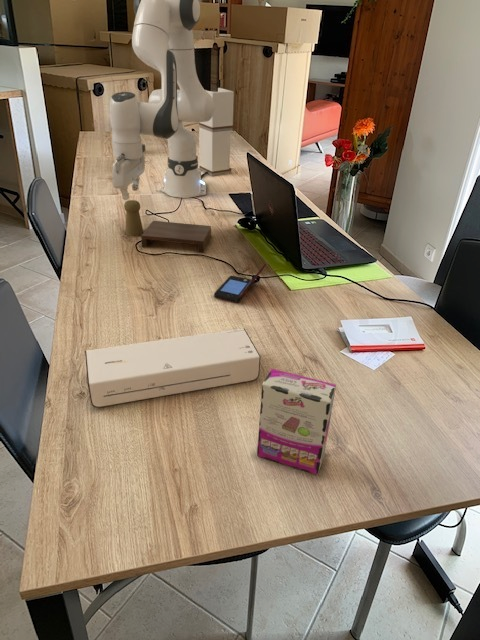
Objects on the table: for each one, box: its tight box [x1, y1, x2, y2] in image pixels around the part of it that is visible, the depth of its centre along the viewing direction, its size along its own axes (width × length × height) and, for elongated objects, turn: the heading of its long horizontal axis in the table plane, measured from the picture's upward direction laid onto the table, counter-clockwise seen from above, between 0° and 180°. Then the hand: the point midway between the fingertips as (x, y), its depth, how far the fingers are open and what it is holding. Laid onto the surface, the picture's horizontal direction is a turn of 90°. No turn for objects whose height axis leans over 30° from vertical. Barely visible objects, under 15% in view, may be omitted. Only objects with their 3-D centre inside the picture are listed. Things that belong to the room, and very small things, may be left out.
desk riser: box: [140, 220, 212, 254], centre depth 160 cm, size 13×20×4 cm, turn 82°
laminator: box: [84, 327, 262, 409], centre depth 102 cm, size 34×12×6 cm, turn 107°
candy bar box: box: [256, 368, 337, 476], centre depth 82 cm, size 11×5×16 cm, turn 69°
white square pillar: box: [198, 87, 235, 177], centre depth 222 cm, size 11×11×35 cm
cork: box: [123, 199, 144, 237], centre depth 163 cm, size 6×6×11 cm
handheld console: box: [213, 263, 267, 304], centre depth 133 cm, size 12×11×7 cm
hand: (130, 194), depth 159 cm, fingers open, 8 cm apart
